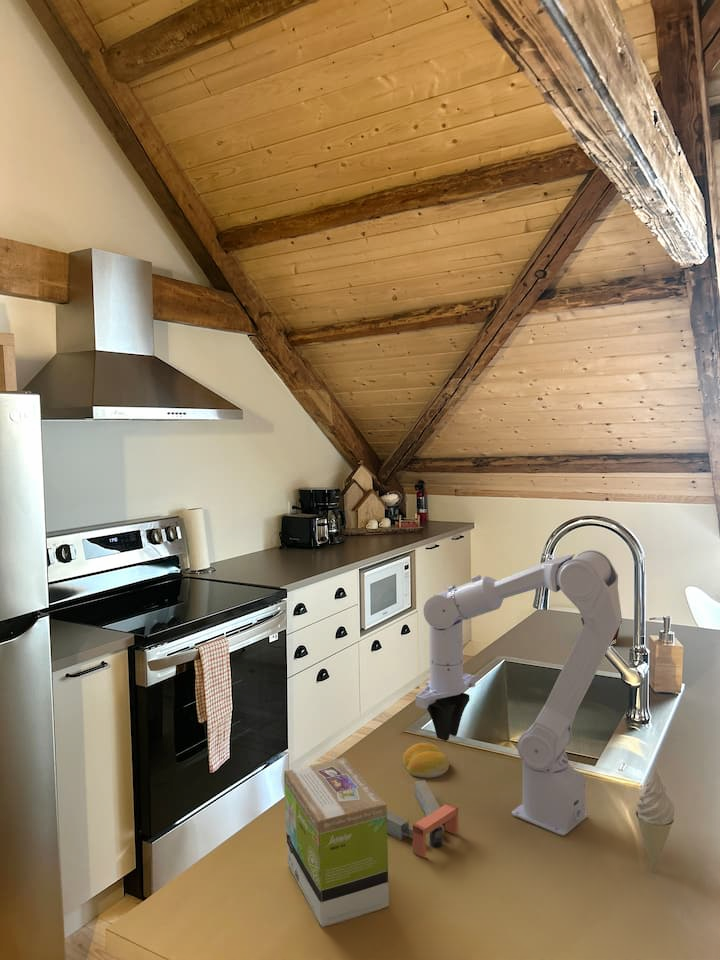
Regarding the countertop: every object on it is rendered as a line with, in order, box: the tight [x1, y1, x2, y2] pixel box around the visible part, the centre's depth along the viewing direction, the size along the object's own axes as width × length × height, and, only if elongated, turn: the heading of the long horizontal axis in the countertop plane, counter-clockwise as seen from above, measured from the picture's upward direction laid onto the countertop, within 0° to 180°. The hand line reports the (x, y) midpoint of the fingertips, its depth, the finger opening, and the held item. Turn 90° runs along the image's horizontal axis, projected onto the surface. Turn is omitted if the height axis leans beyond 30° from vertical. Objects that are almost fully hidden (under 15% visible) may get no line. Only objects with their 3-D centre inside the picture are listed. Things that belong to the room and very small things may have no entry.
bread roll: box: [402, 742, 450, 779], centre depth 135 cm, size 8×9×4 cm
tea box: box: [283, 757, 390, 928], centre depth 100 cm, size 15×10×15 cm, turn 23°
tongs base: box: [387, 810, 444, 849], centre depth 115 cm, size 16×4×2 cm, turn 46°
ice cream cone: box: [635, 768, 675, 873], centre depth 102 cm, size 5×5×15 cm
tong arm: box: [414, 779, 445, 835], centre depth 119 cm, size 14×2×2 cm, turn 11°
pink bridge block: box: [412, 802, 459, 858], centre depth 110 cm, size 2×9×4 cm, turn 136°
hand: (446, 736), depth 127 cm, fingers closed
